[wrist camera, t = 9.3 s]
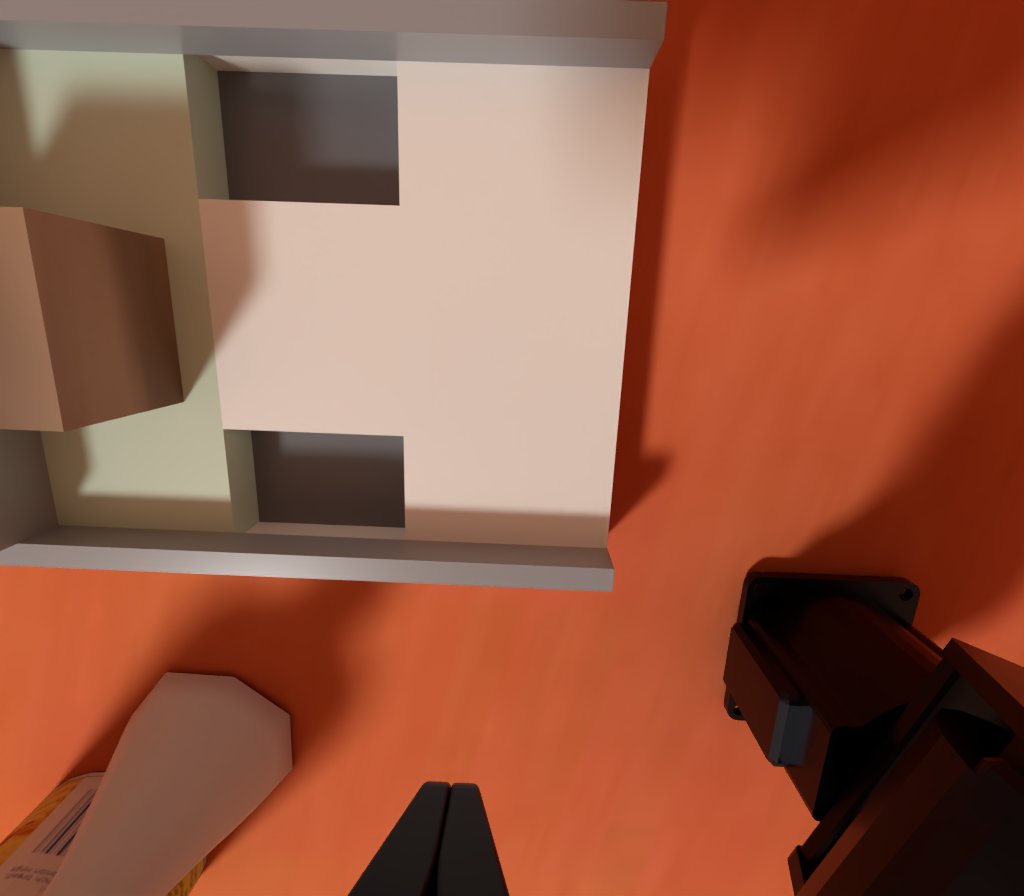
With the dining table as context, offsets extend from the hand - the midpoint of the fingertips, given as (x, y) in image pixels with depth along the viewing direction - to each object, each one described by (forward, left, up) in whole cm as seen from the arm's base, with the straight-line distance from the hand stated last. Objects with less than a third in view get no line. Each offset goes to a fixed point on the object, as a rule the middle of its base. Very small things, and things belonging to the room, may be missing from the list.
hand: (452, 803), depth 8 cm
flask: (+12, +11, -12) cm, 20 cm away
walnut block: (+13, -7, -10) cm, 18 cm away
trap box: (+6, -7, -12) cm, 15 cm away
